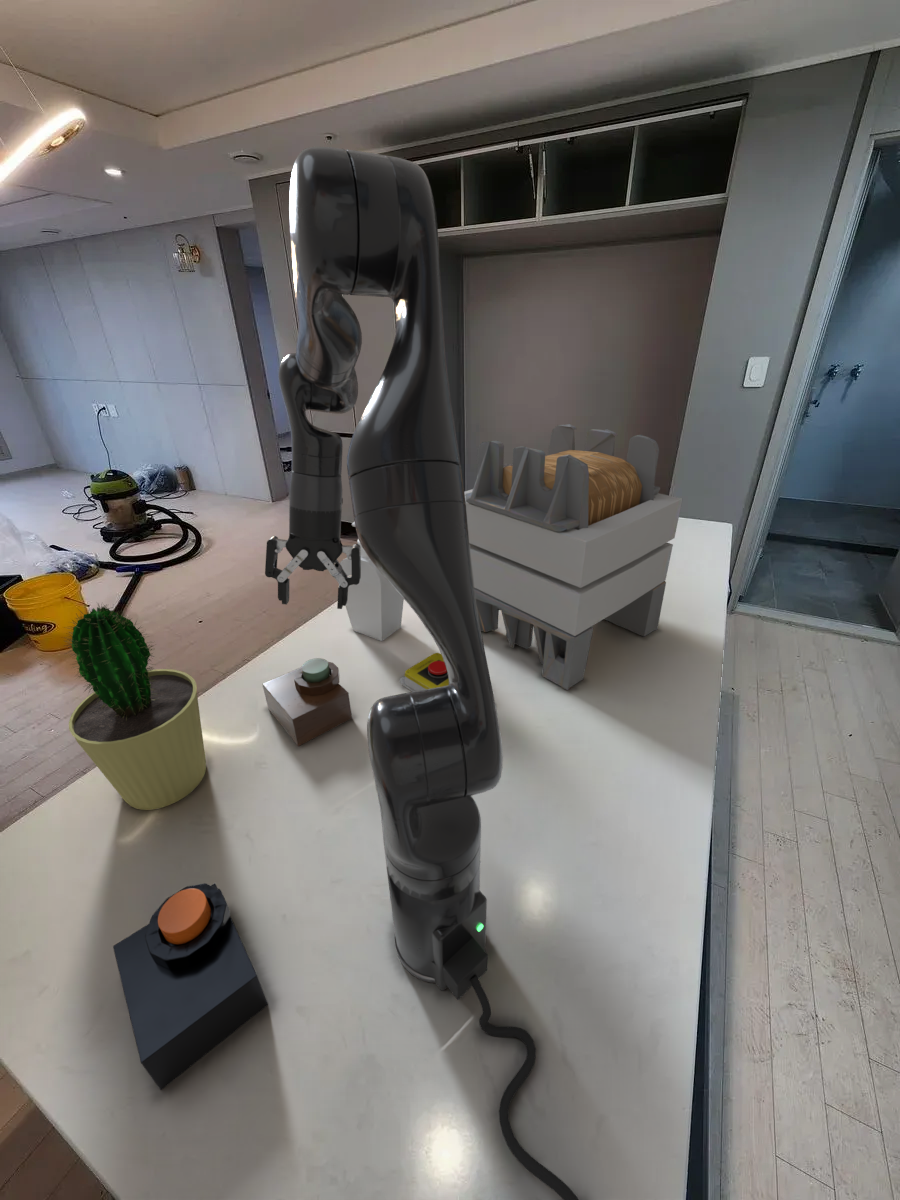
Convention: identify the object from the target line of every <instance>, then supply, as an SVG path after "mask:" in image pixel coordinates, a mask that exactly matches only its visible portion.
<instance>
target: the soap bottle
mask: <svg viewBox="0 0 900 1200" xmlns="http://www.w3.org/2000/svg"><path fill="white" fill-rule="evenodd" d="M351 526H352V527H354V528H356V527H355V521H354V520H353V522H352V523H351ZM357 544H359V545H360V547H361V578H360V582H359V584H357V585H354V584H353V585H350V586H349V587H348V600H347V603H346V605H345V606H344V607H345V610H346V613H347V616H348V619H349V623H350V626H351V629H352V631H354V632H355V633H359V634H361V635H364V636H367V637H370V638H372V639H374V640H378V641H379V642H383V641H384V640H386V639H387V638H388V637H390V636H391V635H393V634H394V633H395V632H396V631H398V630H400V629H401V627H402V621H403V611H404V602H405V600H404V599H403V597H402V596H401V595H400V594H399V593H398V592H397V591H396V589H395V588H394V587H393V586H392V585H391V584H390V583H389V582H388V580H387V579H386V578H385V577H384V576H383V575H382V573H381V572H380V571H379V570H378V568H377V567H376V566H375V565H374V563H373V562H372V561H371V559H370V558H369V557H368V555H367V554H366V552H365V550H364V549H363V547H362V545H361V543H360V541H359V539H358V538H357ZM339 563H340V564H341V566H342V569H343V570H344V572H345V573H346V574H347V576H349V575H352V564H351V560H349V559H348V558H347V557H346V558H343V559H342V560H341V561H340V562H339Z"/></svg>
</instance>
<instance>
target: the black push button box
mask: <svg viewBox="0 0 900 1200" xmlns="http://www.w3.org/2000/svg"><path fill="white" fill-rule="evenodd" d="M191 888H194V889H198V890H201V891H202V892H203V893H204V894H205V896H206V899H207V901H208V903H209V906H210V908H211V917H210V920H209V923H208V924H207V926H206V928H205V929H204V930H203V932H202V933H201V934H200V935H199V936H197V937H196V938H195V939H193V940H191V941H189V942H187V943H184V944H179V945H177V944H171V943H169V942H168V941H167V940H166V939H165V937H164V935H163V934H162V932H161V930H160V928H159V926H158V916H159V913H160V910H161V908H162V907H163V905H164V904H165V903H166V902H167V900H168V899H170V898H171V897H172V896H173V895H175V894H176V893H178V892H180V891H182V890H185V889H191ZM112 949H113V953H114V956H115V960H116V961H115V962H116V965H117V969H118V975H119V977H120V982H121V986H122V990H123V994H124V998H125V1003H126V1006H127V1011H128V1016H129V1019H130V1023H131V1029H132V1032H133V1036H134V1040H135V1044H136V1047H137V1048H136V1049H137V1052H138V1056H139V1057H138V1058H139V1061H140V1064H141V1065H142V1067H143V1068H144V1069H145V1071H146V1072H147V1074H148V1075H149V1076H150V1078H151V1079H152V1080H153V1082H154V1083H155V1085H156V1086H157V1087H158V1089H159V1090H160V1091H162V1090H163V1089H164V1088H166V1087H167V1086H168V1085H170V1083H172V1082H173V1081H175V1080H176V1079H178V1077H180V1076H181V1075H182V1074H183V1073H185V1072H186V1071H187V1070H188V1069H190V1068H191V1067H192V1066H193V1065H195V1064H196V1063H197V1062H198V1061H200V1060H201V1059H202V1058H203V1057H205V1056H206V1055H207V1054H209V1052H211V1051H212V1050H213V1049H215V1048H216V1047H217V1046H218V1045H219V1044H221V1043H222V1042H223V1041H225V1040H226V1039H227V1038H229V1037H230V1036H231V1035H232V1034H234V1033H235V1032H236V1031H238V1029H240V1028H241V1027H242V1026H244V1025H245V1024H246V1023H247V1022H248V1021H250V1020H251V1019H252V1018H253V1017H255V1016H256V1015H257V1014H259V1013H260V1012H261V1011H263V1010H264V1009H265V1008H266V1007H267V1006H268V1005H269V1003H268V1000H267V997H266V995H265V992H264V990H263V986H262V984H261V982H260V979H259V977H258V974H257V973H256V970H255V967H254V965H253V963H252V961H251V959H250V957H249V954H248V952H247V950H246V948H245V946H244V943H243V941H242V939H241V937H240V934H239V932H238V930H237V928H236V926H235V924H234V922H233V919H232V917H231V910H230V907H229V906H228V902H227V901H226V898H225V896H224V894H223V892H222V889H220V888H219V887H218V886H217V884H216V883H215V882H214V883H212V884H209V883H205V882H204V883H199V884H194V885H187V886H185V887H183V888H182V889H180V890H178V891H176V892H175V893H173V894H172V895H170V896H168V897H167V898H165V900H164V901H163V902H162V903H161V905H159V907H158V908H157V909H156V910H155V912H154V913H153V914H152V915H151V917H150V920H149V923H148V924H146V925H144V926H143V927H141V928H140V929H138V930H136V931H135V932H133V933H132V934H130V935H129V936H127V937H125V938H123V939H122V940H120V941H119V942H117V943H116V944H114V945H113V946H112Z"/></svg>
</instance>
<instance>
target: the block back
mask: <svg viewBox="0 0 900 1200" xmlns="http://www.w3.org/2000/svg"><path fill="white" fill-rule="evenodd" d="M327 662H328V664H329V670H330V675H329V677H328V678H327V679H325V680H323V681H321V682H316V683H310V682H306V681H305V680H304V677H303V672H302V666H300V667H298V668H295V669H293V670H291V671H288V672H286V673H284V674H281V675H279V676H277V677H275V678H272V679H270V680H268V681H265V682H262V689H263V693H264V697H265V701H266V705H267V709H268V711H269V712H270V713H271V714H272V716H273V717H274V718H275V719H276V721H277V722H278V723H279V724H280V725H281V727H282V728H283V729H284V730H285V732H286V733H287V734H288V736H289V737H290V738H291V739H292V740H293V742H294V743H295V744H296V745H297V747H300V746H301V745H304V744H305V743H308V742H309V741H311V740H313V739H315V738H317V737H320V736H321V735H323V734H325V733H327V732H329V731H331V730H333V729H334V728H337V727H338V726H340V725H342V724H344V723H346V722H348V721H350V720H352V719H353V715H352V708H351V701H350V695H349V691H347V690H346V689H345V688H344V687H343V686H342V685H341V684H340V678H341V677H340V676H341V675H340V669H339V667H338V665H336V664H335V663H334V662H331V661H327Z"/></svg>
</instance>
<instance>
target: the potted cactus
mask: <svg viewBox="0 0 900 1200" xmlns="http://www.w3.org/2000/svg"><path fill="white" fill-rule="evenodd" d="M118 604H119V603H117V604H116V606H115V607H114V606H112V607H111V609H113V608H114V609H113V610H110V607H108V605H106V604H105V605H104V603H102V604H101V606H100V602H96V605H97V607H96V609H95V608H94V607H93V608H91V609H88V610H87V613H83V611H82V610H80V609H79V608H78V607H76V609H77V610H78V612H80V614H81V615H82V614H83V616H82V617H81V616H79V615H78V614H76V616H77V617H75V619H74V620H73V619H71V622H70V621H69V623H72V626H71V625H70V626H68V625H67V628H68V629H69V630H71V631H68V633H65V634H67V635H68V634H69V635H68V638H66V639H65V640H64V642H65V643H64V644H66V645H64V647H65V646H67V649H68V648H69V649H70V646H71V650H69V651H67V652H66V653H64V655H63V656H65V655H67V654H68V653H70V654H69V656H70V657H72V656H73V658H74V661H73V663H76V665H75V666H72V669H75V668H78V673H79V675H78V677H76V675H75V676H74V677H76V678H75V680H76V679H77V680H79V681H83V680H84V681H85V685H84V686H82V687H83V688H85V687H86V688H85V689H84V692H86V691H87V690H88V693H87V697H85V698H84V699H83V700H82V701H80V703H79V704H78V705H77V706H76V707H75V709H74V710H73V712H72V714H71V715H70V718H69V721H68V730H69V732H70V734H71V736H72V737H73V738H74V739H75V741H76V742H77V744H78V745H79V746H80V747H81V749H82V750H83V751H84V752H85V753H86V755H87V756H88V757H89V759H90V760H91V761H92V762H93V763H94V764H95V766H96V768H97V769H98V770H99V771H100V772H101V773H102V775H103V776H104V777H105V778H106V780H108V782H109V783H110V784H111V786H112V787H113V788H114V789H115V791H117V793H118V794H119V795H120V797H121V798H122V799H123V801H124V803H126V804H128V806H130V807H132V808H134V809H137V810H142V811H151V810H152V811H153V810H157V809H158V810H159V809H161V808H165V807H168V806H171V805H173V804H175V803H177V802H179V801H181V800H183V799H184V798H185V797H187V796H189V794H191V793H192V792H193V791H195V790H196V788H197V787H198V786H199V785H200V783H202V781H203V779H204V777H205V774H206V771H207V759H206V751H205V744H204V738H203V737H204V736H203V730H202V729H203V728H202V722H201V721H202V720H201V714H200V706H199V698H198V689H197V687H198V685H197V682H196V680H195V678H193V677H192V675H190V674H189V673H187V672H185V671H182V670H178V669H171V668H157V669H156V668H154V666H155V664H154V663H152V666H150V662H152V659H151V657H152V658H153V657H154V658H157V657H155V656H154V655H152V654H151V653H152V652H151V651H153V650H154V646H156V645H157V643H156V644H154V645H153V643H154V641H150V643H149V641H148V642H146V641H145V640H146V638H145V636H147V635H148V636H147V638H149V637H150V636H149V634H148V633H149V632H148V633H145V630H140V629H143V626H142V625H143V624H142V625H140V626H138V627H137V622H138V618H137V619H136V620H135V623H134V622H133V621H132V619H133V617H132V618H131V617H130V616H127V617H126V616H125V614H124V613H122V611H124V609H122V611H120V610H118V611H117V612H115V610H116V608H117V606H118ZM141 626H142V627H141ZM63 628H64V629H66V626H63ZM143 633H144V634H143ZM60 638H63V639H64V637H63V636H62V637H60ZM69 644H70V646H69ZM72 652H73V653H72ZM73 654H74V655H73ZM75 660H76V661H75ZM73 663H72V664H71V663H70V666H71V665H73ZM153 665H154V666H153ZM72 673H73V672H72ZM74 677H73V678H74ZM82 678H83V680H80V679H82ZM90 692H91V693H90Z"/></svg>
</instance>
